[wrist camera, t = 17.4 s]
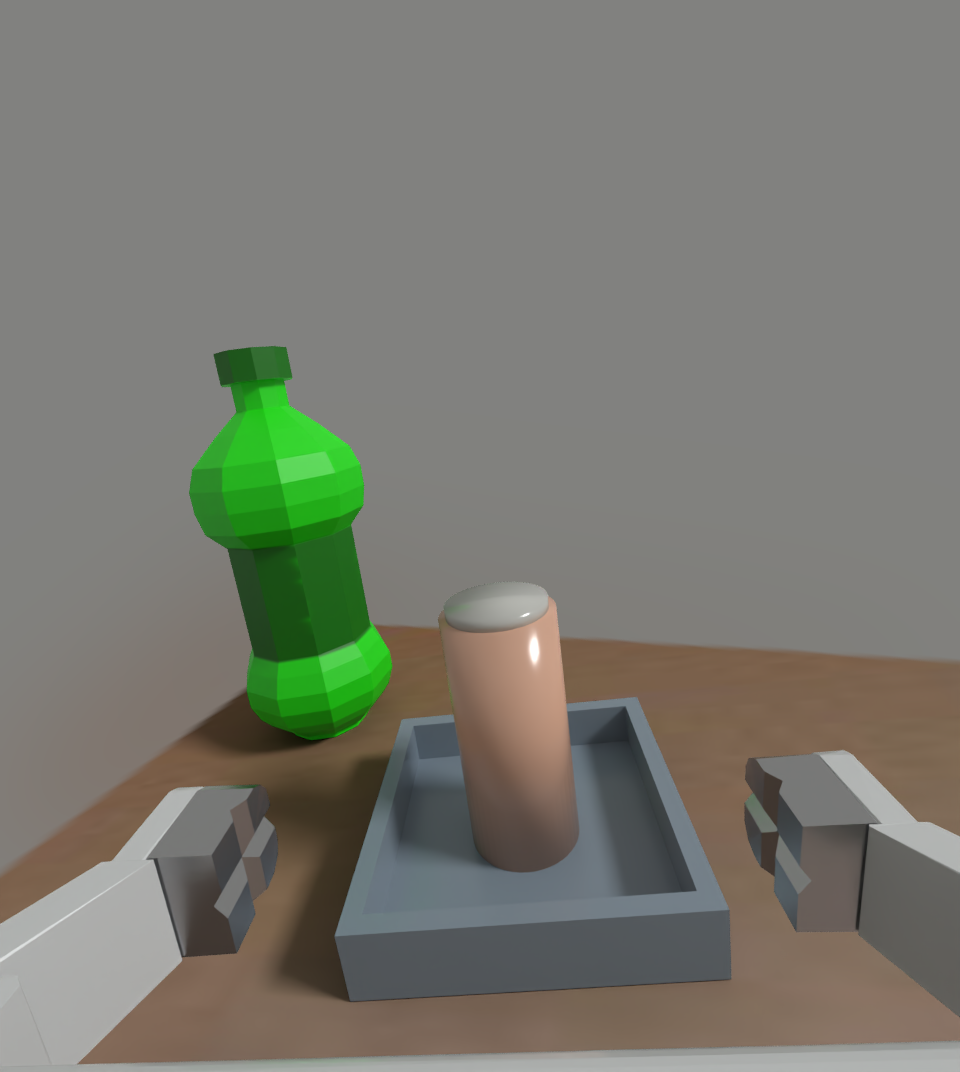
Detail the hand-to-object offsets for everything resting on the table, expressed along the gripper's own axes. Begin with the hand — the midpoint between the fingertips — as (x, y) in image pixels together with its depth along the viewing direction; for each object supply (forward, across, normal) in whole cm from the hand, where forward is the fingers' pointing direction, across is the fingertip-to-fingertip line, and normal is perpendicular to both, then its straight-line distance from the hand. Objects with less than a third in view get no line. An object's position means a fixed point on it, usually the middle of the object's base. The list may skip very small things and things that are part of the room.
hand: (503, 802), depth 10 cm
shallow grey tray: (+14, 0, +14) cm, 20 cm away
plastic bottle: (+27, +13, +15) cm, 34 cm away
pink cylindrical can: (+14, 0, +13) cm, 19 cm away
